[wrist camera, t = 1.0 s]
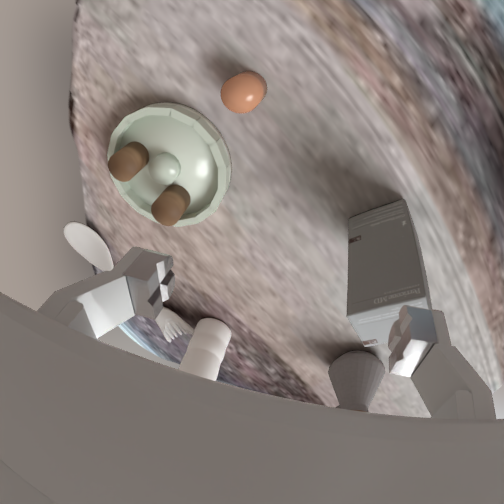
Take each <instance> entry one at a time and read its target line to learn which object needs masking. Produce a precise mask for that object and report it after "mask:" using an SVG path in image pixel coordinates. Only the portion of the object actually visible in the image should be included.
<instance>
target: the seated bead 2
mask: <svg viewBox="0 0 504 504" xmlns="http://www.w3.org/2000/svg"><path fill="white" fill-rule="evenodd" d="M190 202H191V198H190V195H189V193H188V191H187V190H186V189H185V188H184V187H182V186H180V185H176V184H173V185H169V186H168V187H167V188H166V189H165V190H164V191H163V192H162V193H161V195H160V196H159V197H158V198H157V199H156V200H155V201H154V203H153V204H152V206H151V212H152V215H153V217H154V218H155V220H156V221H158V222H159V223H160V224H162V225H165V226H172V225H175V224H176V223H177V222H178V220H179V219H180V218H181V216H182V215H183V213H184V212H185V211H186V209H187V208H188V206H189V205H190Z"/></svg>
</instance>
